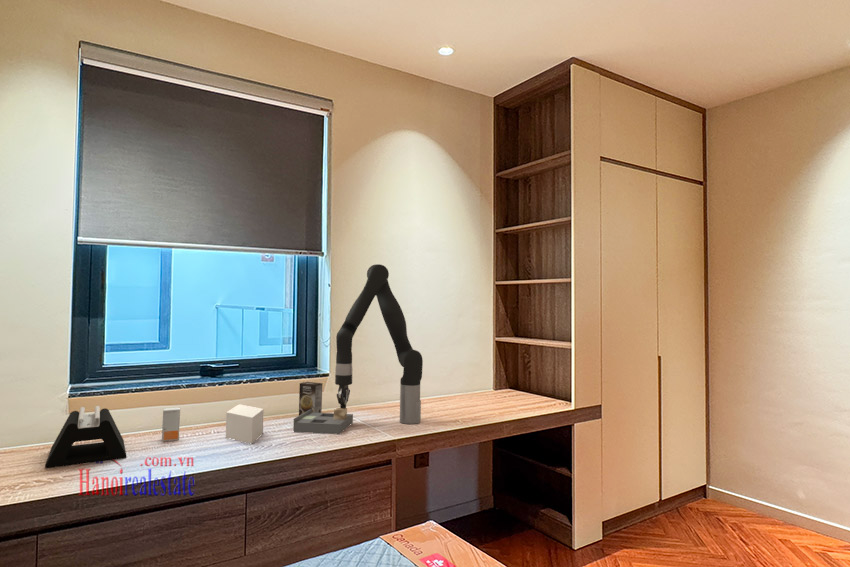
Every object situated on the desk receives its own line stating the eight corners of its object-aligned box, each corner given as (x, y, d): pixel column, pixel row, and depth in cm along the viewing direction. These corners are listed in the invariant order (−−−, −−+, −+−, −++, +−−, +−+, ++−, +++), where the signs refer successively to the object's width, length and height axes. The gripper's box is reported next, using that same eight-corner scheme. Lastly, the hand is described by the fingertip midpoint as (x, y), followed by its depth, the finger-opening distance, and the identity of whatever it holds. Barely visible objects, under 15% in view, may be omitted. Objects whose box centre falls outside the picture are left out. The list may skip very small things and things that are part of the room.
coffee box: (298, 417, 240) (298, 383, 240) (306, 415, 246) (306, 381, 246) (314, 419, 236) (315, 384, 237) (322, 416, 242) (322, 382, 243)
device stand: (45, 469, 163) (47, 422, 163) (50, 451, 182) (52, 409, 182) (126, 458, 175) (128, 414, 175) (123, 443, 194) (125, 403, 194)
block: (346, 417, 223) (347, 408, 224) (343, 419, 219) (344, 410, 219) (336, 417, 224) (337, 407, 224) (333, 419, 219) (333, 410, 220)
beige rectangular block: (231, 447, 190) (232, 419, 190) (220, 430, 215) (221, 405, 216) (270, 442, 197) (271, 415, 198) (255, 426, 222) (256, 402, 223)
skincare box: (161, 441, 195) (162, 410, 196) (161, 439, 199) (162, 408, 200) (179, 440, 198) (180, 409, 199) (179, 437, 202) (180, 407, 202)
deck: (352, 423, 230) (353, 410, 230) (339, 434, 210) (339, 420, 210) (310, 421, 233) (310, 409, 233) (293, 431, 213) (293, 418, 213)
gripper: (347, 375, 219) (347, 416, 219) (356, 371, 232) (355, 410, 232) (331, 375, 220) (330, 415, 220) (340, 371, 233) (339, 409, 233)
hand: (343, 412), depth 226 cm, fingers closed
